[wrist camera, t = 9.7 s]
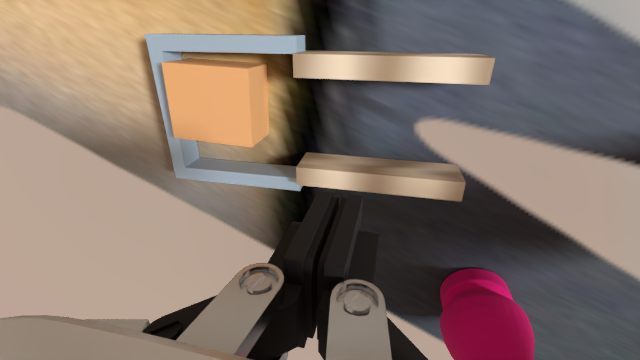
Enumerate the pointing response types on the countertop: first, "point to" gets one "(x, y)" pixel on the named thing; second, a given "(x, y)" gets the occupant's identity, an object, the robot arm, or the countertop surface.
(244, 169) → the bay
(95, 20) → the countertop surface
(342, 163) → the pair of wooden slats
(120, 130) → the countertop surface
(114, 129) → the countertop surface
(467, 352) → the pepper mill
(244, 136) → the block
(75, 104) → the countertop surface
